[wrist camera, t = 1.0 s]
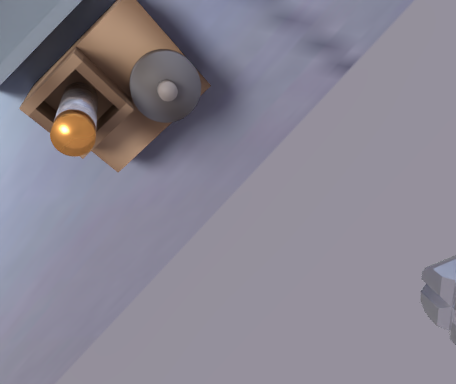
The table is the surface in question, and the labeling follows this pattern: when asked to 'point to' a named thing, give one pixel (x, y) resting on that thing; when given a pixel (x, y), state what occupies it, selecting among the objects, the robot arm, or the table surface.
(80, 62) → the wooden holder block
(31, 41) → the tray
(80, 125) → the lock pin
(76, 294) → the table surface
